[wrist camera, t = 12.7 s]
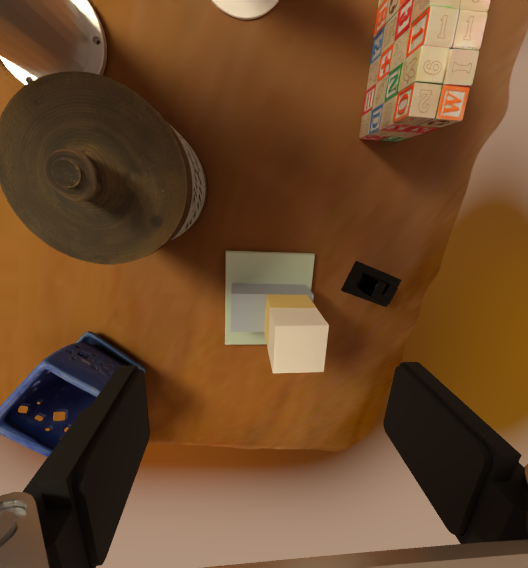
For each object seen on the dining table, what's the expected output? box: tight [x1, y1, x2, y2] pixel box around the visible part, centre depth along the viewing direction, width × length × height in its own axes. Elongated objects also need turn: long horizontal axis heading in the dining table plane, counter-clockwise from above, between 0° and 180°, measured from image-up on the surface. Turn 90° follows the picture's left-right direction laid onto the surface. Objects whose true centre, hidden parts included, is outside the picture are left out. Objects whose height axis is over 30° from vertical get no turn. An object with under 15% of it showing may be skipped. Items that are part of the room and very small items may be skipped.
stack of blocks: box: [359, 0, 490, 142], centre depth 31 cm, size 21×6×12 cm, turn 177°
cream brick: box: [268, 308, 329, 373], centre depth 33 cm, size 6×6×5 cm
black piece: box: [341, 261, 401, 307], centre depth 45 cm, size 12×7×5 cm, turn 68°
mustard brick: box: [264, 294, 316, 348], centre depth 38 cm, size 6×6×5 cm
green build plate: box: [225, 250, 315, 345], centre depth 45 cm, size 14×16×1 cm
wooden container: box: [0, 71, 208, 265], centre depth 28 cm, size 15×15×22 cm
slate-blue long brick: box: [231, 283, 314, 332], centre depth 42 cm, size 12×6×5 cm, turn 87°
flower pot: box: [0, 331, 146, 457], centre depth 41 cm, size 13×13×12 cm
